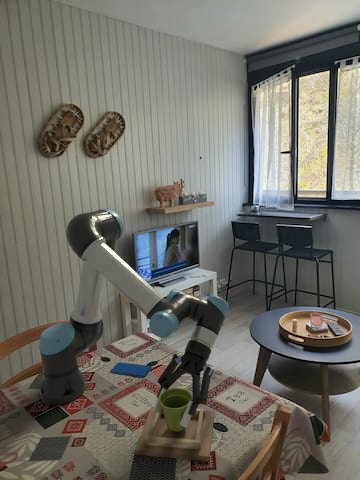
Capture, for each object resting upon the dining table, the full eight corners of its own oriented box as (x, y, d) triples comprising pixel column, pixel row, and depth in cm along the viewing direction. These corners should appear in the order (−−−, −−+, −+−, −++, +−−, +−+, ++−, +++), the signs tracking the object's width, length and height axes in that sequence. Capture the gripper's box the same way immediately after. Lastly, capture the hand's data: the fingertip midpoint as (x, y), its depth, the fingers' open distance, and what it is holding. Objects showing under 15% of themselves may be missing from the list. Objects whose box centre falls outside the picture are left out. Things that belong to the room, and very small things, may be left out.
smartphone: (118, 362, 144) (152, 366, 139) (118, 364, 144) (152, 368, 140) (109, 371, 137) (144, 376, 133) (109, 373, 138) (144, 378, 133)
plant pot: (167, 440, 97) (166, 412, 95) (156, 419, 105) (154, 393, 104) (198, 430, 100) (197, 402, 99) (184, 410, 109) (183, 384, 107)
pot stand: (135, 454, 96) (134, 443, 96) (151, 411, 114) (151, 401, 113) (209, 461, 93) (208, 449, 92) (214, 415, 110) (214, 405, 110)
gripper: (236, 359, 104) (207, 438, 95) (179, 339, 118) (148, 407, 109) (226, 349, 99) (194, 432, 90) (167, 330, 113) (134, 400, 104)
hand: (169, 418), depth 100 cm, fingers closed on plant pot, 9 cm apart
